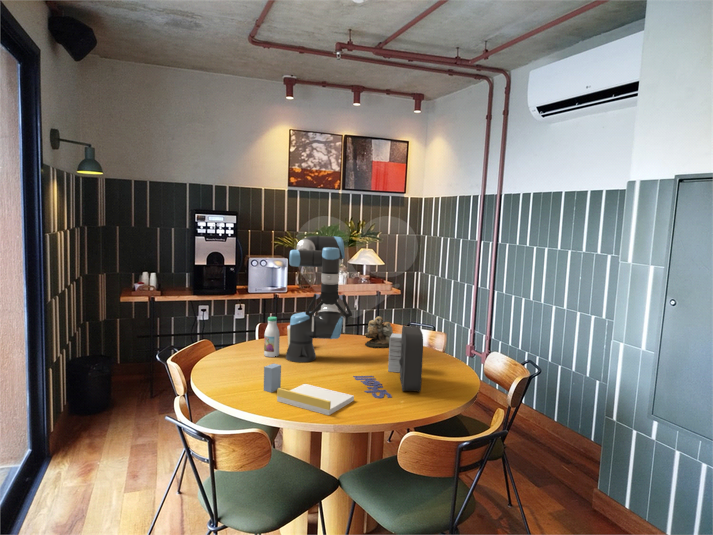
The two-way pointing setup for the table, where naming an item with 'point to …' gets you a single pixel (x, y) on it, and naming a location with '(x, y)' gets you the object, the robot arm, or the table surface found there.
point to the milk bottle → (271, 338)
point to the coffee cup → (288, 334)
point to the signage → (374, 383)
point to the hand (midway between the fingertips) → (328, 331)
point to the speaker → (411, 358)
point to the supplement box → (394, 352)
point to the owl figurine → (378, 333)
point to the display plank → (314, 398)
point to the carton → (272, 377)
